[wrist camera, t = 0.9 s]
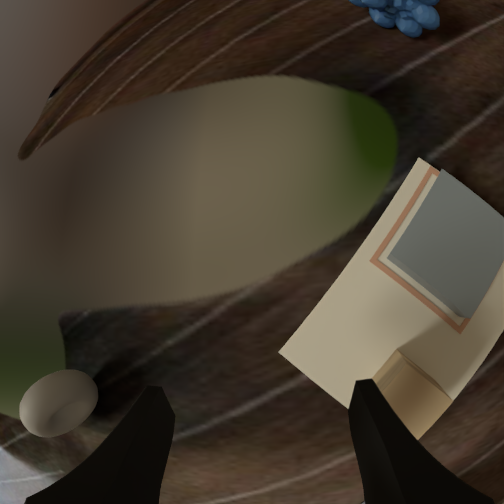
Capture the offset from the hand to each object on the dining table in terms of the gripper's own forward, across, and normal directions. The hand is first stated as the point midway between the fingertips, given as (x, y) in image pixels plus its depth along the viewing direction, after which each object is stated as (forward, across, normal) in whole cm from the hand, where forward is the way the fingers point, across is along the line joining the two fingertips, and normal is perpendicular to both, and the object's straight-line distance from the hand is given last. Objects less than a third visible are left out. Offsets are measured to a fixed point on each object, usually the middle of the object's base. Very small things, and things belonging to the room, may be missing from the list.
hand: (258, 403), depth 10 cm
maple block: (+6, -9, +8) cm, 13 cm away
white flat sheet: (+9, -12, +3) cm, 15 cm away
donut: (+10, +20, +16) cm, 27 cm away
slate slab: (+10, -14, -1) cm, 17 cm away
